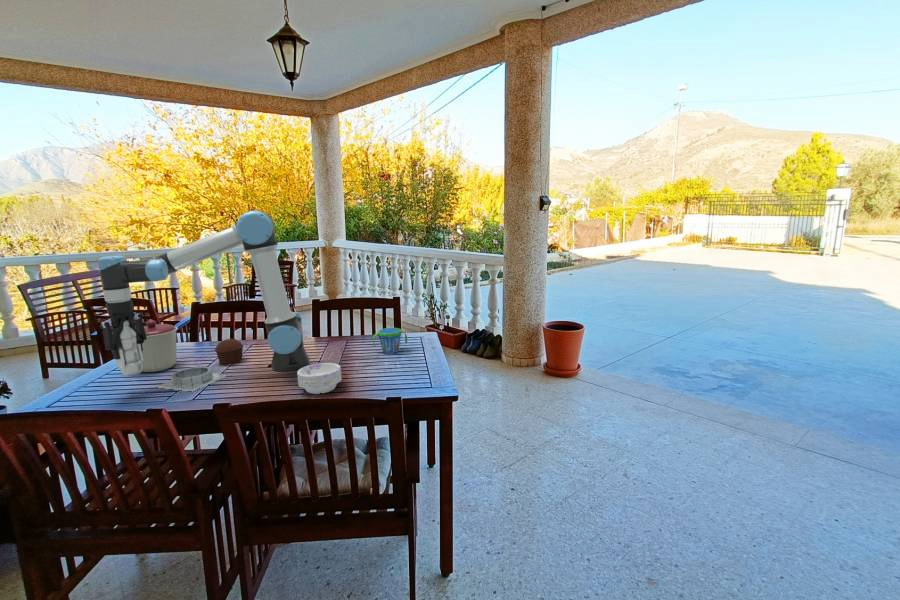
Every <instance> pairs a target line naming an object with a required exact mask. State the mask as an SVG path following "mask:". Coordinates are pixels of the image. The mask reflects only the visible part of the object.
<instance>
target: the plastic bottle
mask: <svg viewBox="0 0 900 600" xmlns="http://www.w3.org/2000/svg"><path fill="white" fill-rule="evenodd" d="M129 325H130V323H129V321H128V320H126V321H124V324H123V330H122V332H121V334H120V349H122V352H123V357H124V362H125V368H119V369H120V374H122V375H123V376H125V377H127V376H135V375H138V374H140V373H142V372H143V371H142V370H143V365H142V362H141V360H140V358H139V354H138V350H137V338H136V332H135V331H134V330H133V329H132V328H131V327H130V326H129Z"/></svg>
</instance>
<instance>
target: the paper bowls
mask: <svg viewBox="0 0 900 600" xmlns="http://www.w3.org/2000/svg"><path fill="white" fill-rule="evenodd" d="M296 375H297V384H298V387H299V388H302V389H304V390H305V392H307V393H309V394H313V395H321V394H320V393H322V394H327V393H329V392H331V391H333V390H334V389H336V387H337V384H339V383H340V382H342V367H341V365H339V364H337V363H334V362H321V363H319V362H318V363H314V364H309V365H308V366H305V367H303V368H301V369H299V370H297V373H296Z"/></svg>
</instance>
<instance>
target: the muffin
mask: <svg viewBox="0 0 900 600" xmlns="http://www.w3.org/2000/svg"><path fill="white" fill-rule="evenodd" d="M243 348H244V344H242V343H241V341H239V340H237V339H235V338H226V339H223V340H221V341H220V342H219V343H218V344H217V346H216V347H215V349H214V351H215V352H216V356H217V360H218V362H219V364H220V365H221V364H222V365H221V366H230V365H229V364H232V365H235V364H238V363H240V361H241V362H242V361H243Z"/></svg>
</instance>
